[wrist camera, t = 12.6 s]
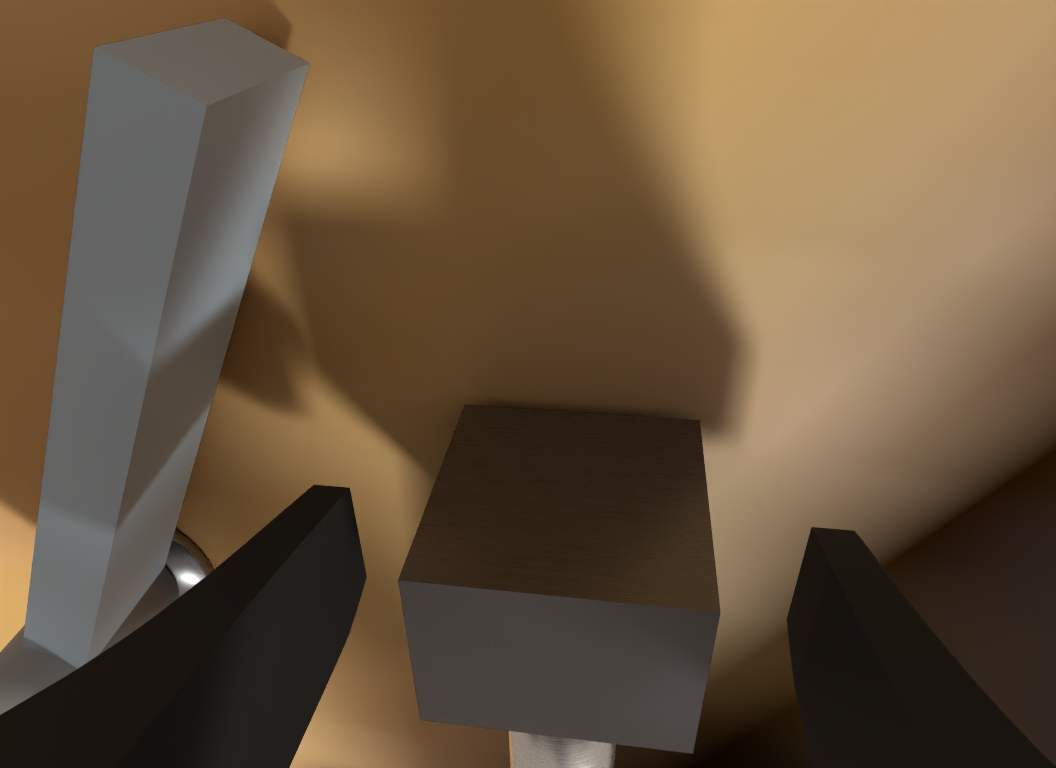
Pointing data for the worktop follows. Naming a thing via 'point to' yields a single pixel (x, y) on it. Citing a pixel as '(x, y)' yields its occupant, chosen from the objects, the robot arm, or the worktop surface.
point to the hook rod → (565, 584)
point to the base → (186, 563)
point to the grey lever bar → (145, 324)
